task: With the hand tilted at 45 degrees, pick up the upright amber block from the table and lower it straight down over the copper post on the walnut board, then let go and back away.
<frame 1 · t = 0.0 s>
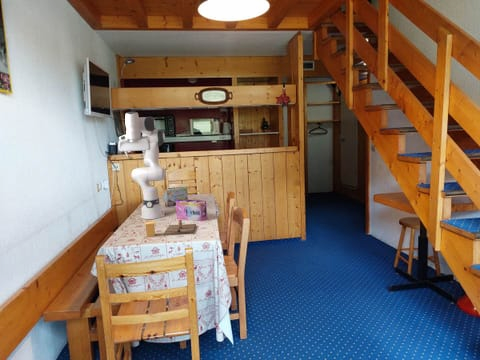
hand: (135, 157, 212), 48 cm above the table, tool pointing down, fingers open, 8 cm apart
snack box: (176, 205, 293), on the table
walnut post board: (180, 230, 208), on the table
upright amber block: (151, 235, 201), on the table
gum box: (192, 219, 238), on the table
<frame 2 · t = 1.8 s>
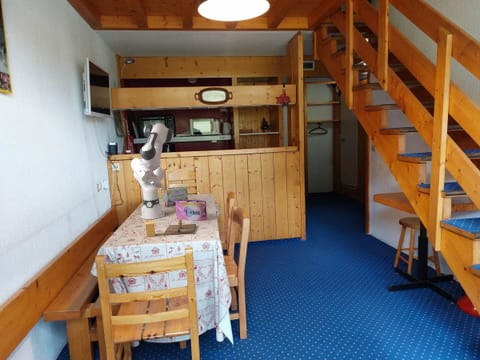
hand: (157, 186, 200), 30 cm above the table, tool tilted 60°, fingers open, 8 cm apart
nothing on the table moved.
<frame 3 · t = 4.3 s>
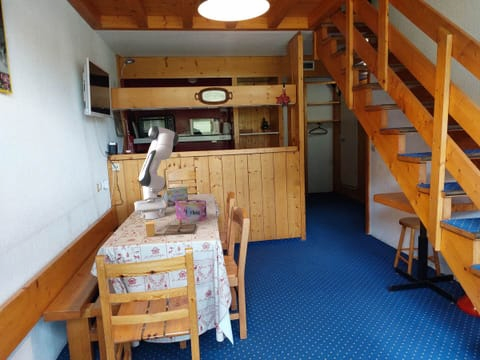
hand: (151, 216, 206), 10 cm above the table, tool tilted 45°, fingers open, 8 cm apart
nothing on the table moved.
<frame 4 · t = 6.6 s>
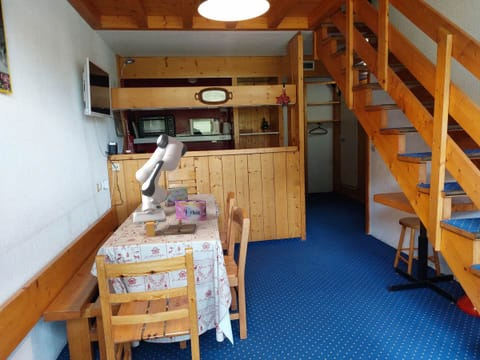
hand: (150, 228, 199), 4 cm above the table, tool tilted 45°, fingers closed on upright amber block, 5 cm apart
upright amber block: (150, 235, 201), on the table, touching gripper
everything else where it was.
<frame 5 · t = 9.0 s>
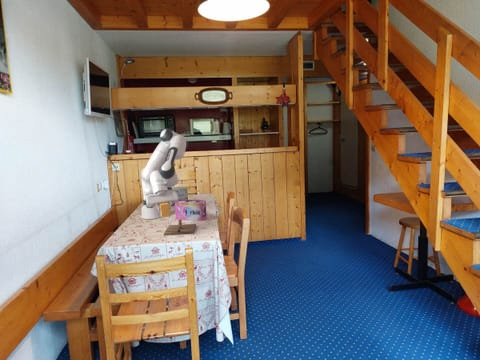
hand: (164, 209, 201), 16 cm above the table, tool tilted 45°, fingers closed on upright amber block, 5 cm apart
upright amber block: (165, 216, 202), point 11 cm above the table, touching gripper
everything else where it was.
when the fingers open (7 cm above the table, at t = 11.8 s): upright amber block stays where it is, resting on walnut post board.
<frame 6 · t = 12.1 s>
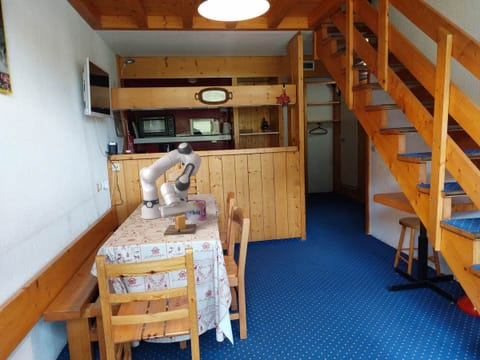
hand: (180, 220, 207), 7 cm above the table, tool tilted 45°, fingers open, 8 cm apart
upright amber block: (180, 228, 208), point 1 cm above the table, touching walnut post board
everything else where it was.
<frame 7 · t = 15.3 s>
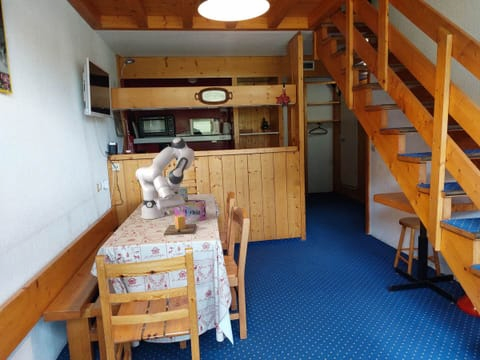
hand: (175, 212, 216), 10 cm above the table, tool tilted 40°, fingers open, 8 cm apart
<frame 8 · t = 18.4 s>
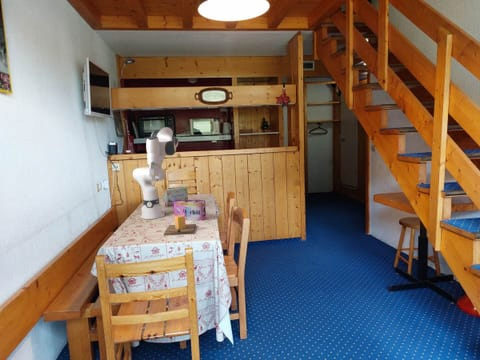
hand: (156, 181, 215), 31 cm above the table, tool pointing down, fingers open, 8 cm apart
at the end: upright amber block 0.1 cm from the walnut post board (horizontally); upright amber block point 1.5 cm above the table; upright amber block tilted 0° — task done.
